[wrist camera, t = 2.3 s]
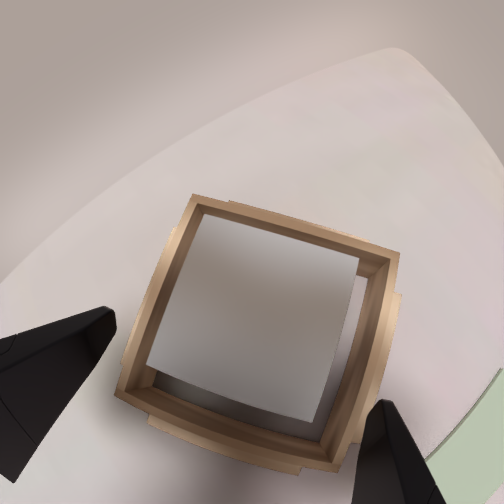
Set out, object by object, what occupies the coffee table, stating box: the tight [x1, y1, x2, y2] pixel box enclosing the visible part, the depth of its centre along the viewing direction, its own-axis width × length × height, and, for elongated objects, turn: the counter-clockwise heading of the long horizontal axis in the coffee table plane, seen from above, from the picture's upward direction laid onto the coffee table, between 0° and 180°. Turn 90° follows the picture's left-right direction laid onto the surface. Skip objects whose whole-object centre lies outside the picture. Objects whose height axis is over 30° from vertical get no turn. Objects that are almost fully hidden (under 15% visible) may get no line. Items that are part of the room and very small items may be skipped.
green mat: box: [425, 369, 504, 504], centre depth 12 cm, size 14×10×1 cm
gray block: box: [146, 214, 359, 423], centre depth 13 cm, size 5×5×10 cm
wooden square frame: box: [114, 194, 402, 476], centre depth 16 cm, size 16×16×4 cm
